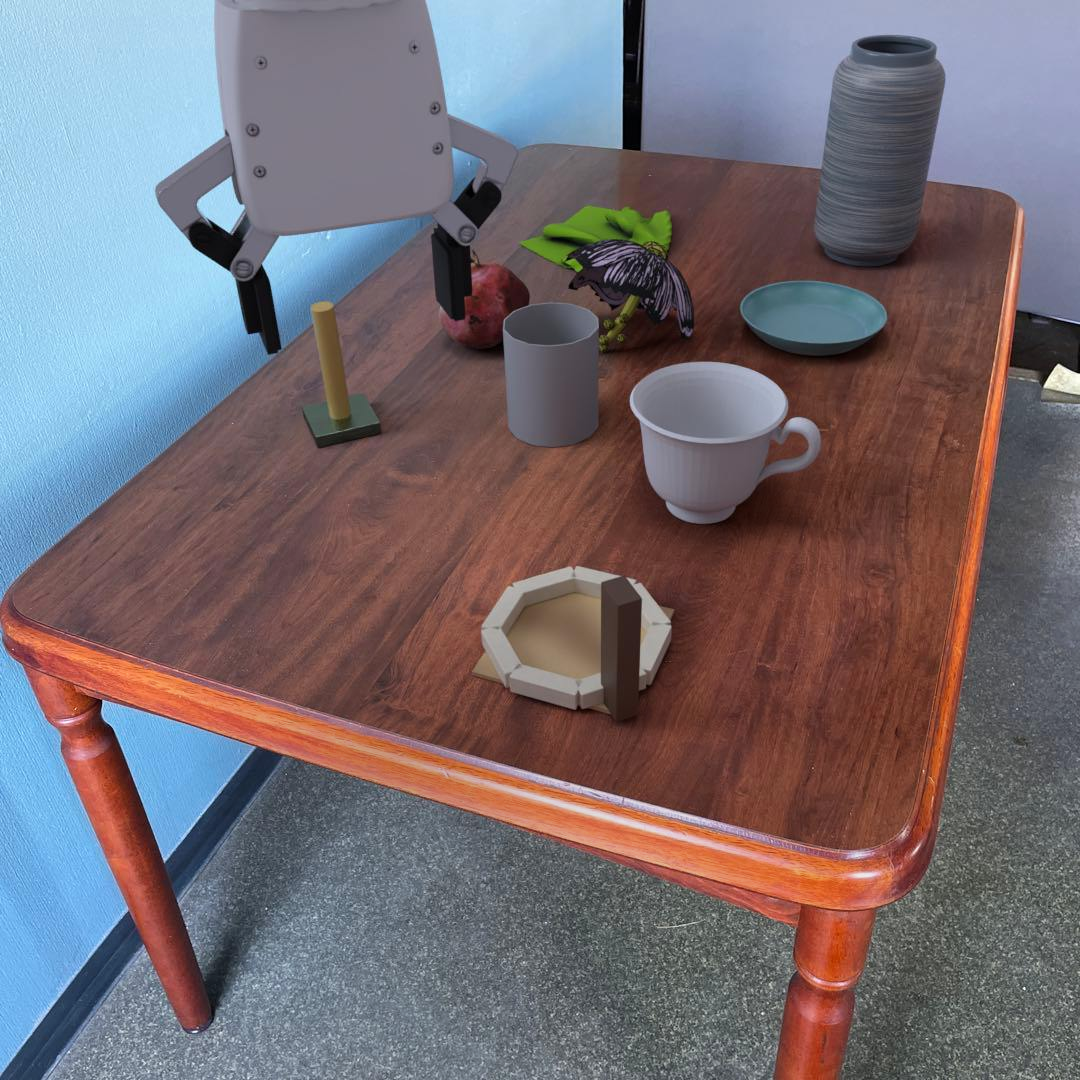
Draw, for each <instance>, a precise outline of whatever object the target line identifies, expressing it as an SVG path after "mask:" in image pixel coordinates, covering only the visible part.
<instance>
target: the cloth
mask: <svg viewBox="0 0 1080 1080" xmlns="http://www.w3.org/2000/svg"><path fill="white" fill-rule="evenodd" d="M672 227H673V224H672V221H671V215H670V213H669V211H668V210H663V211H662V210H661V211H659V212H655V213H654V214H653V216H652V217H649V218H648V217H647V218H646V217H642V215H641V213H640V212H638V211H637V210H634V209H632V208H631V206H630V205H629V206H625V207H623V208H621V210H616V209H612V208H611V209H609V208H604V207H599V206H592V205H586V206H584V207H582V209H580V210H579V211H578V212H576V213H575V214H574V215H573V216H571V217H570V218H568V219H567V220H566V221H565V222H559V223H558V222H557V223H550V224H548V225H546V226H543V230H542V235H539V236H535V237H532V238H529V239H525V240H521V241H519V242H518V244H519V245H521V247H524V248H526V249H528V250H530V251H531V252H533V253H534V254H537V255H539V256H541V258H544V259H546V260H548V261H551V262H552V263H554V264H556V265H558V266H559V267H562V268H565V269H573V270H575V271H576V273H578V272H579V271H580V270H581V269H582V268H583V267H582V265H580V264H579V263H578V262H577V261H576V259H575V258H574V259H571V260H568V261H565V260H566V259H567V257H568V256H566V255H568V254H569V253H571V252H572V251H574V250H576V249H578V248H580V247H583V246H585V245H588V244H590V243H594V242H598V241H602V240H609V239H621V240H628V241H633V242H636V243H638V244H640V245H642V244H644V243H645V242H649V241H652V242H654V241H655V242H657V243H660V244H661V245H662V246H664V247H665V248H666V251H667V252H668V250H670V243H672V235H673V229H672ZM564 261H565V262H564Z"/></svg>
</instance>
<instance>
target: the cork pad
mask: <svg viewBox="0 0 1080 1080" xmlns="http://www.w3.org/2000/svg"><path fill="white" fill-rule="evenodd" d="M535 576H536V575H533V577H535ZM658 606H659V607H660V608H661V609H662V611H663V612H664V613H665V615H666V616H667V617H668V619H669V620H670V621H671V622H672V619H673V617H674V615H675V611H676V610H675V609H674V608H670V607H666V606H662V605H658ZM646 634H647V633H646V631H645V630H644V629H643V627H642V626H641V643H640V646H641V644H642V642H643V640H644V638H645V636H646ZM506 638H507V639H508V641H509V643H510V644H511V646H512V648H513V650H514V651H515V653H516V655H517V657H518V658H519V660H520V662H521V664H522V665H526V666H530V667H533V668H537V669H541V670H544V671H548V672H552V673H555V674H559V675H563V676H566V677H570V678H574V679H577V680H580V679H583V678H586V677H589V676H592V675H595V674H598V673H601V598H597V597H592V596H588V595H584V594H580V593H576V592H573V593H569V594H566V595H562V596H559V597H556V598H552V599H549V600H546V601H542V602H539V603H535V604H532V605H529V606H525V607H524V608H523V610H522V611H521V613H520V614H519V616H518V617H517V619H516V621H515V622H514V624H513V625H512V627H511V628H510V630H509V632H508V633H507V635H506ZM471 675H472V676H474V677H476V678H481V679H484V680H488V681H490V682H493V683H494V682H495V683H498V684H501V685H504V684H503V682H502V680H501V678H500V676H499V674H498V673H497V671H496V669H495V667H494V665H493V663H492V662H491V660H490V658H489V656H488V654H487V652H486V651H485V650H484V652H483V654H482V655H481V657H480V658H479V660H478V661H477V662H476V665H475V666H474V667H473V669H472V671H471ZM578 707H580V705H578ZM587 709H590V710H593V711H597V712H601V713H604V714H608V715H611V713H610V712H609V710H608V709H607V707H606V705H605V704H604V702H603V703H600V704H597V705H594V706H591V707H588V708H587Z"/></svg>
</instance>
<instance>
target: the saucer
mask: <svg viewBox="0 0 1080 1080" xmlns="http://www.w3.org/2000/svg"><path fill="white" fill-rule="evenodd" d="M739 312H740V314H741V316H742V319H743V321H744V322H745V323H746V325H747V326H748V327H749V329H750V330H751V331H752V332H753V333H754V334H755V335H756V336H757V337H758V338H759V339H761V340H762V341H763V342H765V343H766V344H768V345H769V346H771V347H772V348H775V349H778V350H781V351H784V352H787V353H791V354H796V355H800V356H801V355H803V356H815V357H816V356H817V357H818V356H819V357H821V356H822V357H823V356H833V355H834V356H835V355H840V354H844V353H846V352H850V351H852V350H854V349H856V348H858V347H861V345H864V344H865V343H866V342H868V341H869V340H871V339H872V338H874V337H875V336H876V335H877V334H878V333H879V332H880V331H881V330H882V329H883V328H885V327H884V326H886V324H887V322H888V313H887V310H886V308H885V307H884V305H883V304H882V303H881V302H880V301H879V300H877V299H876V298H875V297H873V296H872V295H870V294H867V293H866V292H864V291H862V290H859V289H856V288H854V287H850V286H848V285H843V284H837V283H833V282H828V281H822V280H821V281H820V280H788V281H787V280H786V281H779V282H775V283H770V284H765V285H764V286H760V287H758V288H756V289H754V290H752V291H751V292H749V293H748V294H746V295H745V297H743V299H742V300H741V301H740V304H739Z"/></svg>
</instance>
